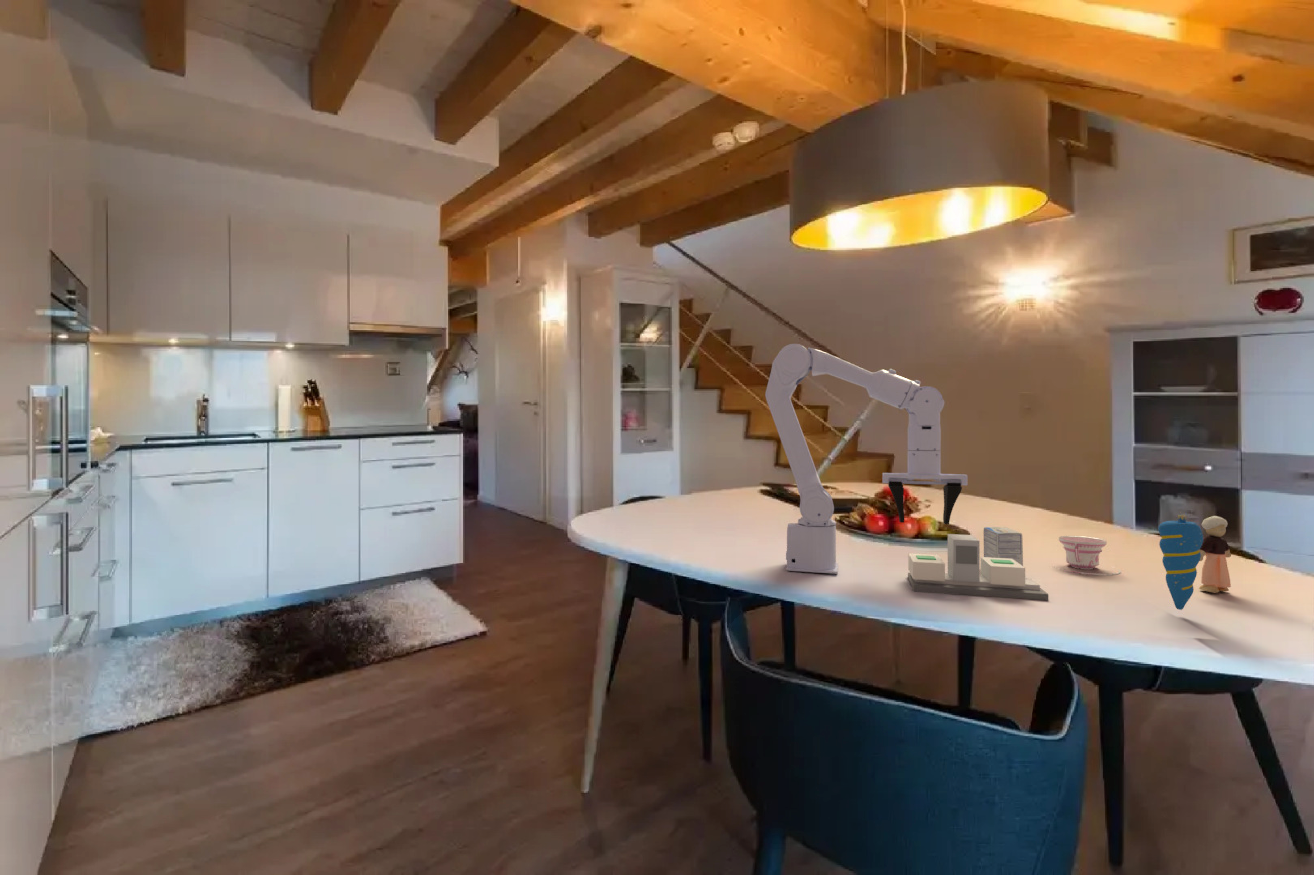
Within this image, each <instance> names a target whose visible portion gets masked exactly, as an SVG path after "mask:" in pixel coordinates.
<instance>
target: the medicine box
mask: <svg viewBox="0 0 1314 875" xmlns="http://www.w3.org/2000/svg"><path fill="white" fill-rule="evenodd" d="M1023 549H1024V548H1023V533H1021V532H1019V531H1017V530H1015V529H1012V528H1009V527H1006V526H1005V527H1004V526H1003V527H1001V526H986V527H983V557H991V558H1010V559H1013V560H1015V561H1016V562H1018V563H1019V564H1020V565H1022V566H1023V567H1024V552H1023V551H1024V550H1023Z"/></svg>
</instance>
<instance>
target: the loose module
mask: <svg viewBox="0 0 1314 875" xmlns="http://www.w3.org/2000/svg"><path fill="white" fill-rule="evenodd" d="M947 573H948V574H949V575H950V577H951V578H952V579H953V581H969V582H980V574H981V557H980V540H979V539H978V538H976V537H975V535H972V534H955V533H954V534H953V533H952V534H951V533H948V534H947Z"/></svg>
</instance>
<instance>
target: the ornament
mask: <svg viewBox="0 0 1314 875" xmlns="http://www.w3.org/2000/svg"><path fill="white" fill-rule="evenodd" d="M1179 513H1182V510H1180V511H1179ZM1157 528H1158V534H1159V535H1160V540H1159V548H1160V550H1161V553H1162V554H1163V557H1162V565H1163V567H1164V569H1165V572H1166V574H1165V582H1166V586H1167V588H1168V590H1169V593H1170V596H1171V598H1172V601H1173V605H1174V606H1175V608H1176V609H1177V610H1179V611H1182V610H1184V608H1185V606H1186V604H1187V603H1188V602H1189V601H1190V599H1191V597H1192V595H1193V594H1194V582H1195V580H1196V577H1197V574H1198V571H1197V566H1198V564H1199V562H1201V561H1200V558H1201V554H1200V551H1199V549H1200V548H1201V546H1202V543H1203V540H1204V534H1203V531H1202V529H1201V527H1200V525H1199V524H1198V523H1197V522H1192V521H1187V515H1185V514H1183V515H1182V514H1178V515H1177V520H1166V521H1163V522H1161V523H1160V524H1159V525H1158V527H1157Z"/></svg>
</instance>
